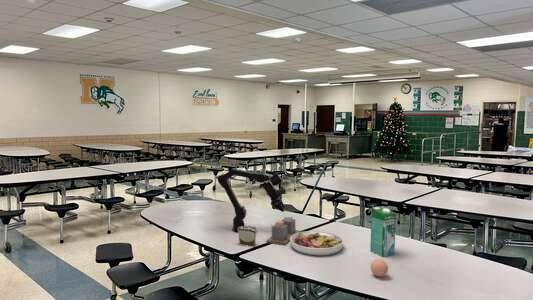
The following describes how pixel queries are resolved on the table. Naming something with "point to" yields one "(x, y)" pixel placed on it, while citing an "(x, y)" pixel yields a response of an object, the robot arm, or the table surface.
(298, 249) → the bowl
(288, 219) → the sage button
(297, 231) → the walnut board
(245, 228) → the food container
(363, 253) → the table surface
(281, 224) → the terracotta button
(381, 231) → the milk carton
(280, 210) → the robot arm
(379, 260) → the toy ball
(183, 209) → the table surface
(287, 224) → the button posts
